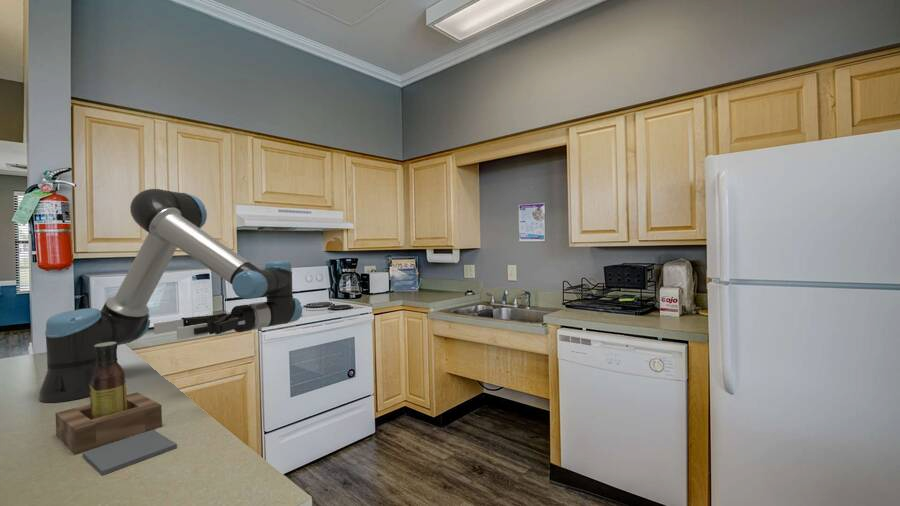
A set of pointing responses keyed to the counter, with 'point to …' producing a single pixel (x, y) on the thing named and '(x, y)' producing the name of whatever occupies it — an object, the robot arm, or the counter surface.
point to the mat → (128, 451)
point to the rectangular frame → (107, 424)
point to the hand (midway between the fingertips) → (165, 331)
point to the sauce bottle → (107, 382)
